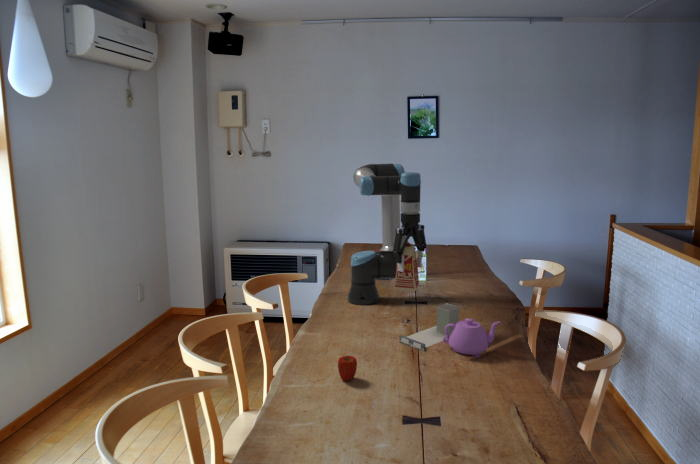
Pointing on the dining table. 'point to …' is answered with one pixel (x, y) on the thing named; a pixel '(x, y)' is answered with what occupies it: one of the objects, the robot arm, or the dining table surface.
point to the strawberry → (347, 367)
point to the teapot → (469, 337)
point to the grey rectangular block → (447, 317)
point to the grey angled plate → (423, 338)
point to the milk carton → (408, 270)
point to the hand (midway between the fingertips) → (409, 269)
